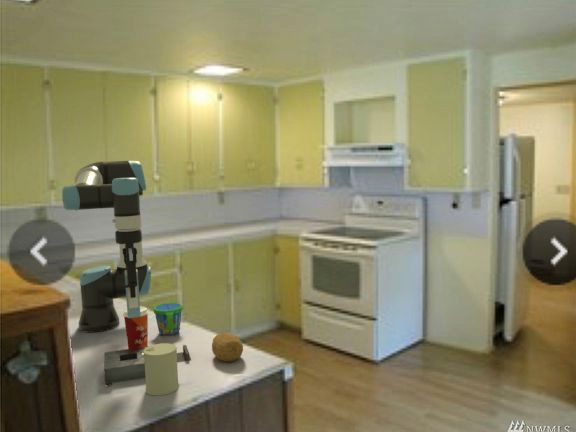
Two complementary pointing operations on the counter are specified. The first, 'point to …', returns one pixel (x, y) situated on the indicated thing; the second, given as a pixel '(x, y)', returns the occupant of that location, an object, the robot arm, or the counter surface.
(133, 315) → the plug
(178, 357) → the dark grey bridge bracket
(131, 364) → the port
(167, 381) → the can
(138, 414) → the counter surface
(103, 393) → the counter surface
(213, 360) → the counter surface
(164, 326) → the snack cup
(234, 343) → the potato
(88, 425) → the counter surface
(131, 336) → the coffee cup
